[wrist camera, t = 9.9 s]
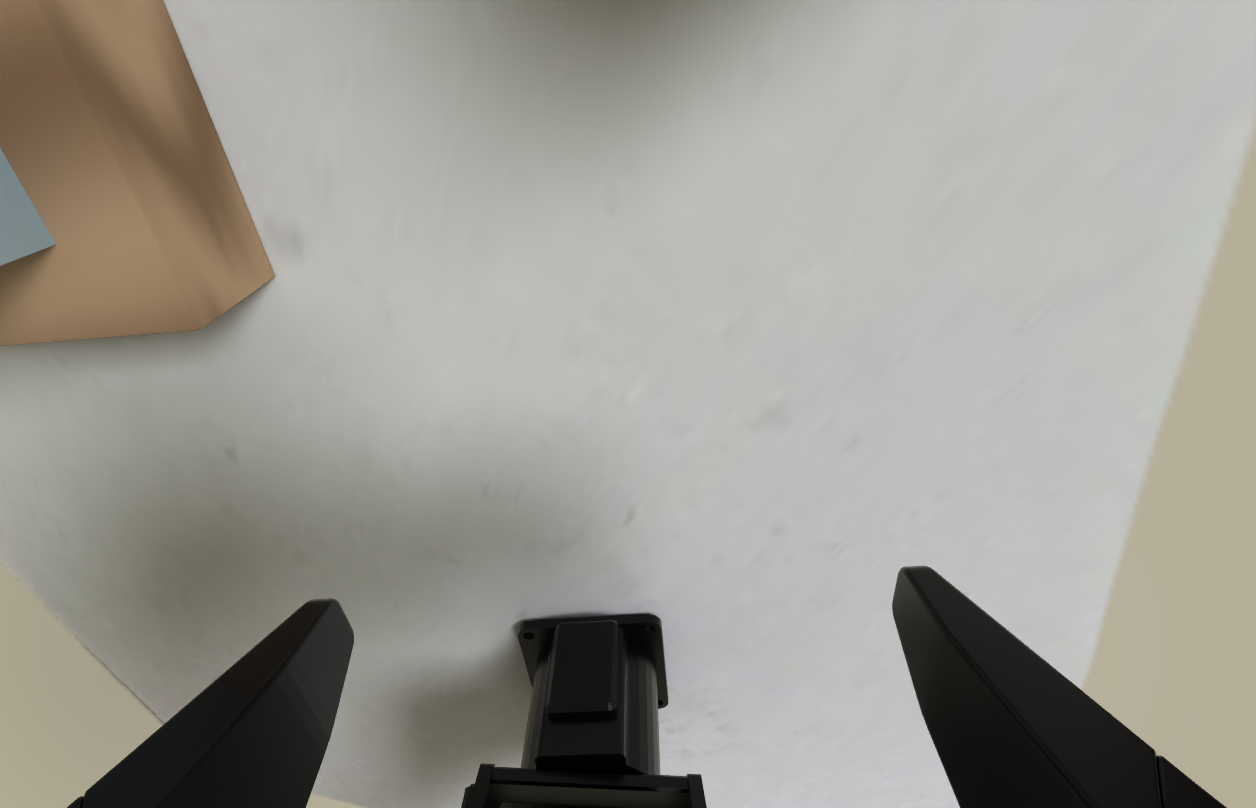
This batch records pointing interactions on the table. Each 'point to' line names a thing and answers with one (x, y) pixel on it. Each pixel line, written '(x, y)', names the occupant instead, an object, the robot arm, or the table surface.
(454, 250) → the table surface
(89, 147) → the walnut block
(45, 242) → the slate block
